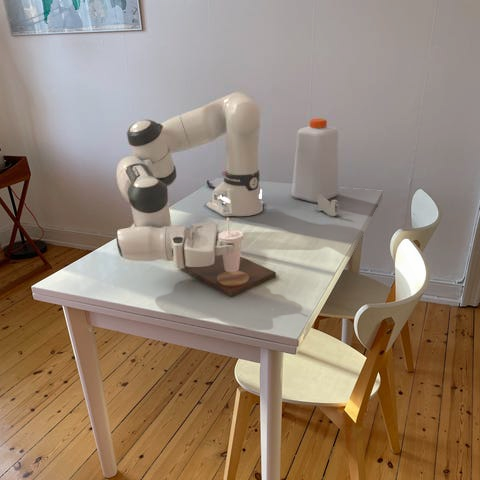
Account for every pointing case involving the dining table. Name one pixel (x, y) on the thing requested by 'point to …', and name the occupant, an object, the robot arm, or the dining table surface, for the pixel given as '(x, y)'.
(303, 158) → the plastic bottle
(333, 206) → the duck shaped cutout
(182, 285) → the dining table surface
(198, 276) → the serving board
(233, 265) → the smoothie
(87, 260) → the dining table surface
